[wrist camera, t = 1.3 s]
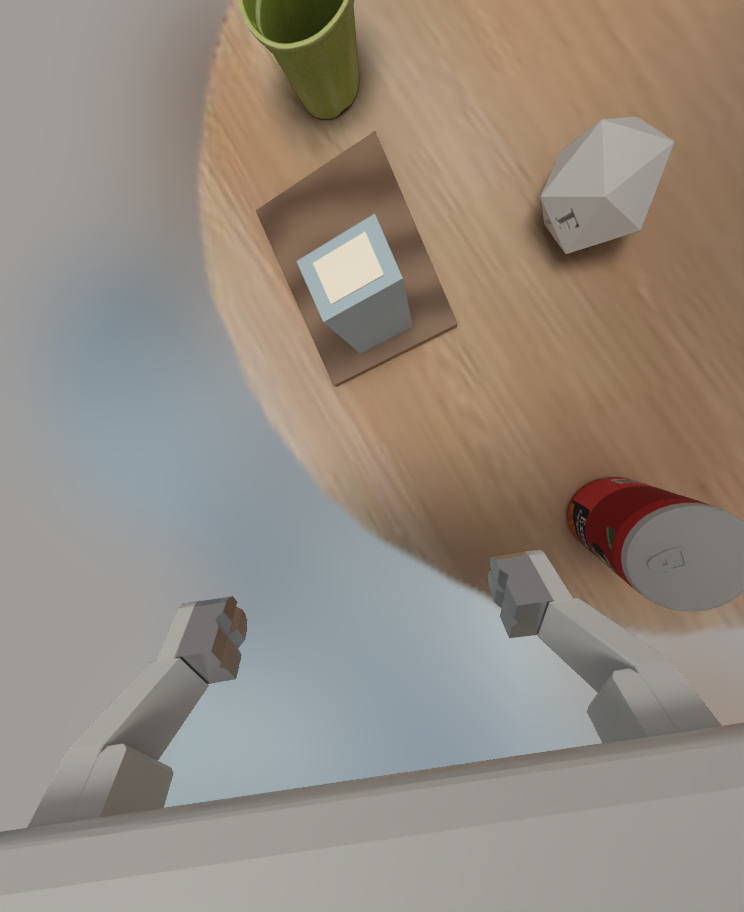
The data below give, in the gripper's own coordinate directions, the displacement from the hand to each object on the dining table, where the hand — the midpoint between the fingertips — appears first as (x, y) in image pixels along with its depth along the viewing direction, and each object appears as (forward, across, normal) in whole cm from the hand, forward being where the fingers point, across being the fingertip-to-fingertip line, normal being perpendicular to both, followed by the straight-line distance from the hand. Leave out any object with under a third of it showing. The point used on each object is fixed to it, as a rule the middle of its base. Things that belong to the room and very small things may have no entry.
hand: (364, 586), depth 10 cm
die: (+30, -23, -7) cm, 38 cm away
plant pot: (+42, -2, -20) cm, 47 cm away
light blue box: (+29, -3, -1) cm, 30 cm away
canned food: (+16, -23, +18) cm, 33 cm away
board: (+33, -2, -5) cm, 34 cm away
